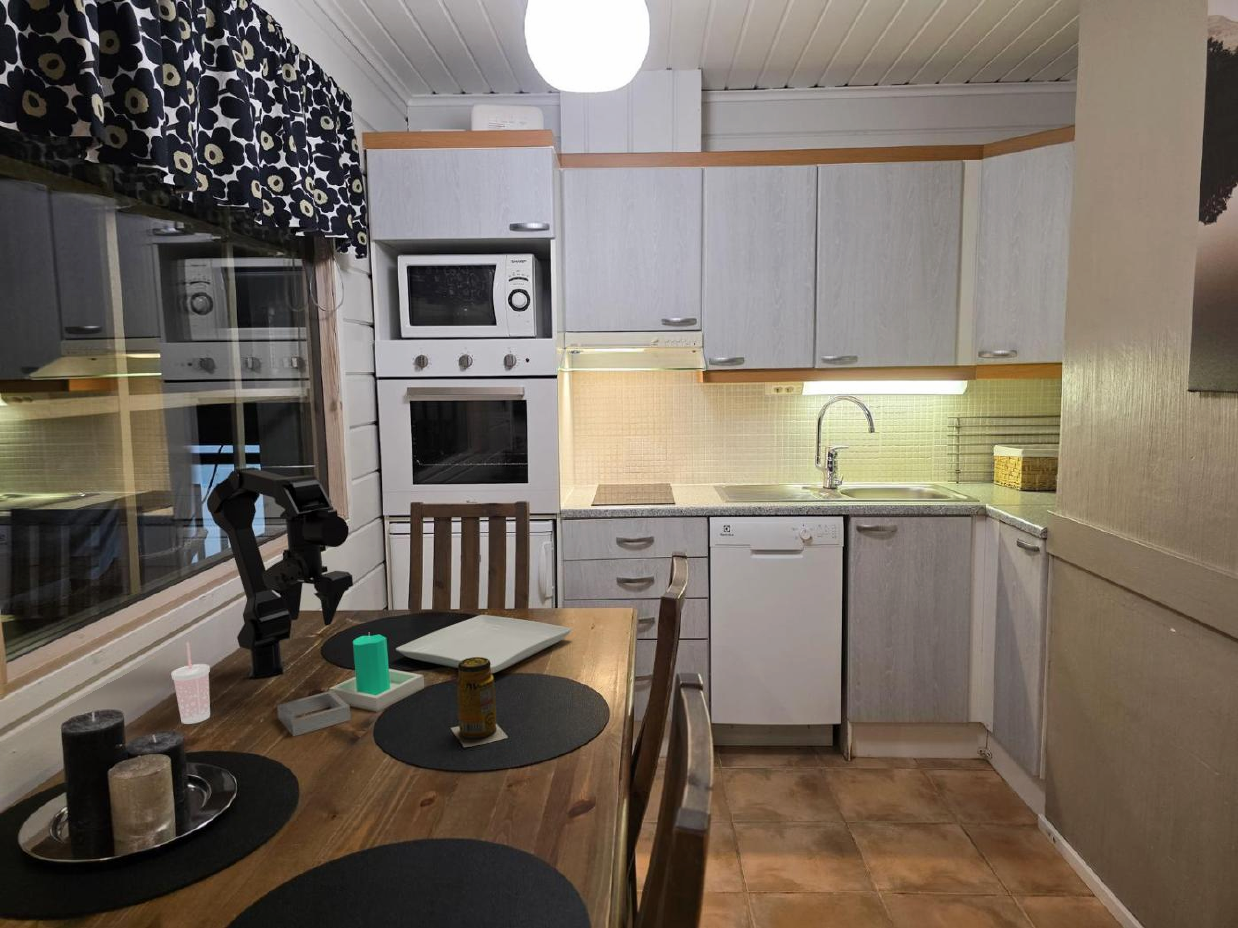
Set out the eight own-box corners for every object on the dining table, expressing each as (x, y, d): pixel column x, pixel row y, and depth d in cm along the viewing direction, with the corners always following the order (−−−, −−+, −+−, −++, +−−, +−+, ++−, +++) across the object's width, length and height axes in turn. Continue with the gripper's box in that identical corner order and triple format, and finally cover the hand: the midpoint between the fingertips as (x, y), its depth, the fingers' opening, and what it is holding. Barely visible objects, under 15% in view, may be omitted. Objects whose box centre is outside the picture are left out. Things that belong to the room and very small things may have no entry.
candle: (389, 697, 148) (384, 634, 147) (355, 701, 147) (350, 637, 146) (391, 685, 154) (386, 624, 153) (359, 689, 153) (353, 628, 152)
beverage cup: (208, 708, 148) (200, 634, 147) (219, 717, 144) (212, 641, 143) (171, 719, 144) (163, 643, 143) (182, 728, 140) (174, 650, 138)
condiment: (492, 719, 138) (488, 651, 137) (508, 738, 130) (503, 666, 129) (450, 729, 135) (445, 660, 133) (464, 749, 127) (459, 675, 126)
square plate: (575, 643, 177) (574, 625, 177) (492, 685, 154) (491, 666, 154) (482, 627, 192) (481, 611, 191) (394, 664, 169) (392, 646, 168)
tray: (330, 701, 149) (329, 688, 149) (378, 678, 159) (377, 666, 159) (377, 711, 143) (376, 698, 143) (424, 687, 154) (423, 675, 153)
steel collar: (278, 718, 142) (277, 704, 142) (333, 703, 148) (332, 690, 148) (293, 736, 135) (292, 722, 134) (350, 719, 140) (349, 706, 140)
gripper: (234, 548, 151) (242, 629, 152) (302, 554, 142) (310, 640, 143) (284, 536, 160) (291, 613, 162) (351, 542, 151) (358, 623, 153)
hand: (311, 622), depth 155 cm, fingers open, 9 cm apart
